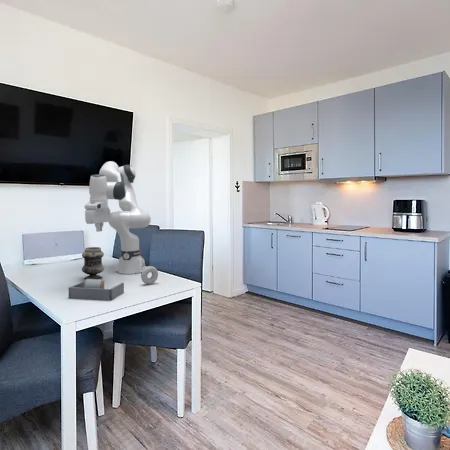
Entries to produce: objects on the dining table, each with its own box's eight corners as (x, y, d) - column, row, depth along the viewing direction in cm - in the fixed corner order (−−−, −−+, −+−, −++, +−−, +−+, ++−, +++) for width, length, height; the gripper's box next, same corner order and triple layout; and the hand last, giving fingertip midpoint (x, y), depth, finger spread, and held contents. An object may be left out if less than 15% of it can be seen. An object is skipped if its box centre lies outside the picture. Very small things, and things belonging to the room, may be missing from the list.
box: (84, 290, 164) (84, 280, 164) (123, 292, 161) (123, 282, 161) (68, 298, 151) (68, 287, 151) (111, 300, 148) (111, 289, 148)
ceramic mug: (101, 296, 155) (101, 280, 154) (83, 297, 153) (83, 280, 153) (106, 290, 165) (106, 275, 165) (89, 291, 164) (89, 276, 163)
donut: (142, 286, 173) (142, 267, 173) (139, 285, 176) (139, 266, 175) (159, 283, 180) (159, 265, 179) (156, 282, 183) (156, 264, 182)
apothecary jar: (96, 281, 183) (95, 249, 182) (77, 280, 185) (76, 248, 184) (108, 276, 195) (107, 246, 193) (90, 275, 197) (89, 246, 196)
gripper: (103, 205, 182) (103, 229, 183) (82, 205, 162) (83, 233, 163) (113, 205, 181) (114, 229, 182) (94, 205, 161) (94, 233, 162)
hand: (99, 231), depth 172 cm, fingers closed
